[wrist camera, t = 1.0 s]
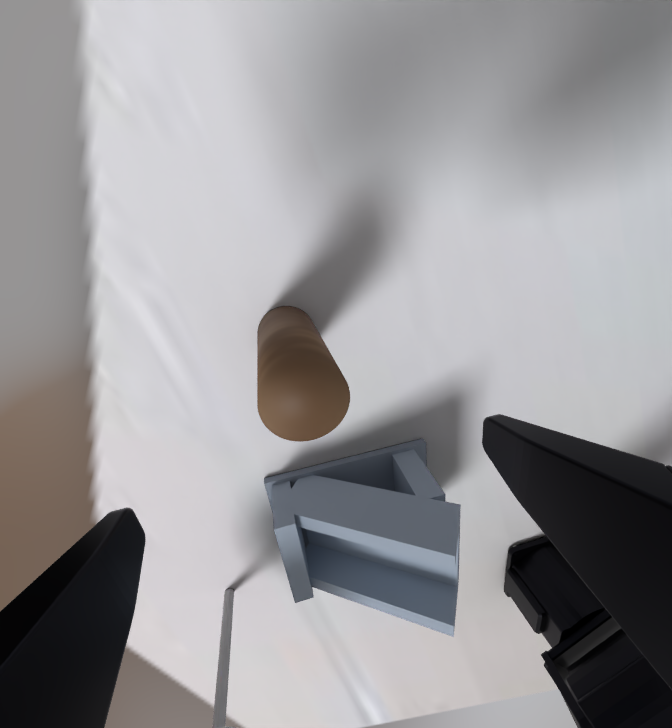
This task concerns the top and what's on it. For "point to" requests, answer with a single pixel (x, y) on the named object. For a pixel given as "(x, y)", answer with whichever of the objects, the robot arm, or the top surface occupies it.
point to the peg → (298, 378)
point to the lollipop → (223, 662)
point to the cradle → (371, 534)
